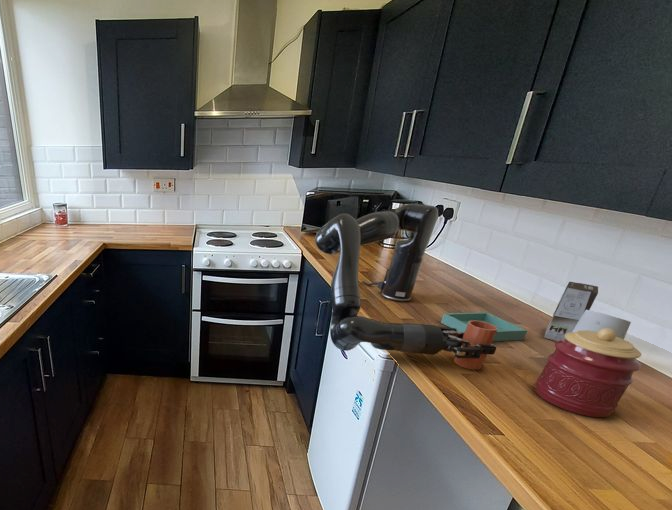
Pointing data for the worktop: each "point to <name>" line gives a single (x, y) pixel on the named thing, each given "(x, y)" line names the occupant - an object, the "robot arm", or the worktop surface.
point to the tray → (504, 328)
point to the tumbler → (477, 342)
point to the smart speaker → (602, 323)
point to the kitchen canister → (588, 372)
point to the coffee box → (570, 309)
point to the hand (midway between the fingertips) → (485, 344)
